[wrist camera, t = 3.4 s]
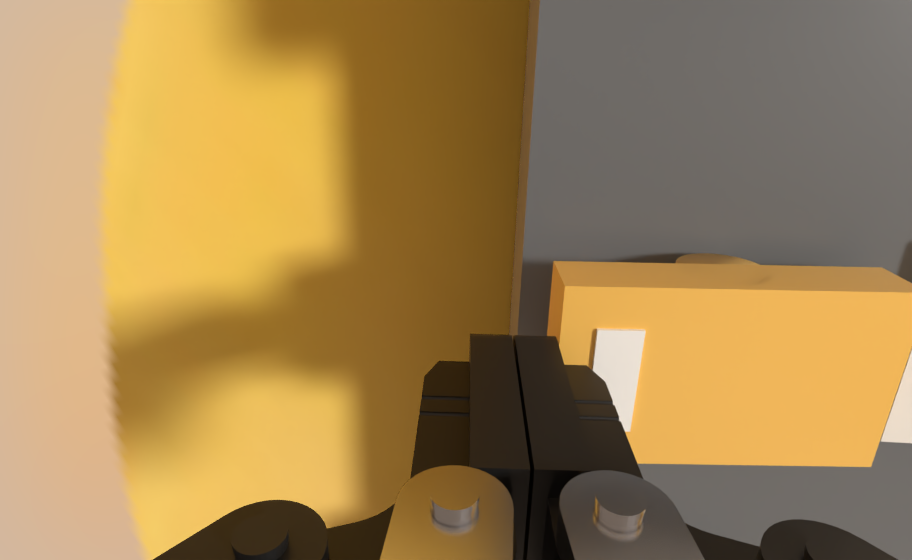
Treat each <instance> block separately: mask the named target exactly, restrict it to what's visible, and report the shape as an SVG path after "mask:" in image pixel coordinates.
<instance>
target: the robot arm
mask: <svg viewBox="0 0 912 560" xmlns="http://www.w3.org/2000/svg"><path fill="white" fill-rule="evenodd" d="M153 560H898V559H896V558H894V557H893V556H891V555H889V554H887V553H886V552H884V551H882V550H880V549H879V548H877V547H875V546H873V545H872V544H870V543H868V542H866V541H865V540H863V539H861V538H859V537H857V536H855V535H854V534H852V533H850V532H847V531H845V530H843V529H840V528H838V527H835V526H832V525H829V524H826V523H821V522H817V521H812V520H803V519H791V520H785V521H781V522H778V523H775V524H773V525H772V526H770V527H769V528H768V529H767V530H766V531H765V532H764V534H763V537H762V539H761V543H760V546H755V545H752V544H748V543H744V542H741V541H737V540H733V539H730V538H726V537H722V536H719V535H715V534H712V533H709V532H705V531H702V530H700V529H697V528H695V527H693V526H690V525H688V524H687V523H685V522H684V520H683V518H682V517H681V515H680V513H679V511H678V509H677V508H676V506H675V504H674V503H673V501H672V500H671V499H670V498H669V497H668V496H667V495H666V494H665V493H664V492H663V491H662V490H660V489H659V488H658V487H656V486H655V485H653V484H652V483H650V482H648V481H646V480H644V479H643V477H642V474H641V471H640V469H639V466H638V464H637V461H636V459H635V456H634V454H633V451H632V448H631V446H630V443H629V441H628V438H627V436H626V433H625V431H624V428H623V426H622V423H621V421H619V415H618V413H617V410H616V408H615V405H613V400H612V397H611V395H610V392H609V390H608V387H607V385H606V382H605V381H604V380H603V379H602V378H600V377H599V376H598V375H597V374H596V373H595V372H594V371H593V370H591V369H590V368H589V367H588V366H587V365H564V362H563V358H562V355H561V351H560V348H559V344H558V341H557V338H556V336H528V335H514V336H513V340H512V335H491V334H470V351H469V362H456V361H439V362H438V363H437V364H436V365H435V366H434V367H433V368H432V369H431V370H430V371H429V372H428V373H427V374H426V376H425V377H424V384H423V392H422V399H421V406H420V415H419V421H418V428H417V435H416V442H415V450H414V457H413V464H412V471H411V478H410V479H409V480H408V481H407V482H406V483H405V484H404V485H403V487H402V488H401V490H400V491H399V493H398V496H397V498H396V502H395V504H394V505H392V506H391V507H390V508H388V509H387V510H385V511H384V512H382V513H380V514H378V515H376V516H374V517H371V518H369V519H366V520H362V521H359V522H355V523H351V524H346V525H342V526H337V527H333V528H328V529H326V526H325V523H324V521H323V520H322V518H321V517H320V516H319V515H318V514H317V513H316V512H315V511H314V510H312V509H311V508H309V507H307V506H305V505H303V504H300V503H297V502H293V501H286V500H268V501H262V502H257V503H253V504H249V505H246V506H244V507H241V508H239V509H236V510H234V511H232V512H231V513H229V514H227V515H225V516H223V517H222V518H220V519H219V520H217V521H215V522H214V523H212V524H210V525H209V526H207V527H205V528H204V529H202V530H201V531H199V532H197V533H196V534H194V535H192V536H191V537H189V538H187V539H186V540H184V541H183V542H181V543H179V544H178V545H176V546H174V547H173V548H171V549H169V550H168V551H166V552H165V553H163V554H161V555H160V556H158V557H156V558H155V559H153Z"/></svg>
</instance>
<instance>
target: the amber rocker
mask: <svg viewBox="0 0 912 560" xmlns="http://www.w3.org/2000/svg"><path fill="white" fill-rule="evenodd" d="M547 336H556V338H557V341H558V344H559V348H560V351H561V355H562V358H563V362H564V365H587V366H588V367H589V368H590V369H591V370H593V371H594V372H595V373H596V374H597V375H598V376H599V377H600V378H602V379H603V380H604V381H605V382H606V385H607V387H608V390H609V392H610V395H611V397H612V400H613V405H615V408H616V410H617V413H618V415H619V421H621V423H622V426H623V428H624V431H625V433H626V436H627V438H628V441H629V443H630V446H631V448H632V451H633V454H634V456H635V459H636V461H637V464H701V465H768V466H836V467H871V466H872V463H873V460H874V457H875V454H876V451H877V448H878V445H879V442H880V439H881V436H882V433H883V430H884V427H885V425H886V422H887V419H888V416H889V413H890V410H891V407H892V404H893V401H894V398H895V395H896V392H897V389H898V386H899V383H900V380H901V378H902V375H903V372H904V369H905V366H906V363H907V360H908V357H909V354H910V351H911V348H912V283H910V282H908V281H907V280H905V279H903V278H901V277H899V276H897V275H895V274H893V273H892V272H890V271H888V270H886V269H884V268H882V267H837V266H786V265H759V264H757V263H755V262H752V261H749V260H746V259H742V258H738V257H733V256H728V255H721V254H710V253H696V254H688V255H684V256H681V257H679V258H678V259H677V260H676V263H632V262H581V261H553V272H552V283H551V295H550V306H549V318H548V329H547Z"/></svg>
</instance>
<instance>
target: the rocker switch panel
mask: <svg viewBox="0 0 912 560" xmlns="http://www.w3.org/2000/svg"><path fill="white" fill-rule="evenodd" d="M696 253H710V254H721V255H728V256H733V257H738V258H742V259H746V260H749V261H752V262H755V263H757V264H759V265H786V266H837V267H882V268H884V269H886V270H888V271H890V272H892V273H893V274H895V275H897V276H899V277H901V278H903V279H905V280H907V281H908V282H910V283H912V0H530V4H529V21H528V37H527V53H526V69H525V85H524V102H523V118H522V134H521V150H520V166H519V182H518V199H517V215H516V231H515V247H514V263H513V280H512V296H511V312H510V328H509V335H512V340H513V336H514V335H528V336H547V329H548V318H549V306H550V295H551V283H552V272H553V261H581V262H632V263H676V260H677V259H678V258H679V257H681V256H684V255H688V254H696ZM638 466H639V469H640V471H641V474H642V477H643V479H644V480H646V481H648V482H650V483H652V484H653V485H655V486H656V487H658V488H659V489H660V490H662V491H663V492H664V493H665V494H666V495H667V496H668V497H669V498H670V499H671V500H672V501H673V503H674V504H675V506H676V508H677V509H678V511H679V513H680V515H681V517H682V518H683V520H684V522H685V523H687V524H688V525H690V526H693V527H695V528H697V529H700V530H702V531H705V532H709V533H712V534H715V535H719V536H722V537H726V538H730V539H733V540H737V541H741V542H744V543H748V544H752V545H755V546H760V543H761V539H762V537H763V534H764V532H765V531H766V530H767V529H768V528H769V527H770V526H772V525H773V524H775V523H778V522H781V521H785V520H791V519H803V520H812V521H817V522H821V523H826V524H829V525H832V526H835V527H838V528H840V529H843V530H845V531H847V532H850V533H852V534H854V535H855V536H857V537H859V538H861V539H863V540H865V541H866V542H868V543H870V544H872V545H873V546H875V547H877V548H879V549H880V550H882V551H884V552H886V553H887V554H889V555H891V556H893V557H894V558H896V559H898V560H912V348H911V351H910V354H909V357H908V360H907V363H906V366H905V369H904V372H903V375H902V378H901V380H900V383H899V386H898V389H897V392H896V395H895V398H894V401H893V404H892V407H891V410H890V413H889V416H888V419H887V422H886V425H885V427H884V430H883V433H882V436H881V439H880V442H879V445H878V448H877V451H876V454H875V457H874V460H873V463H872V466H871V467H836V466H768V465H701V464H638Z"/></svg>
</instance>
